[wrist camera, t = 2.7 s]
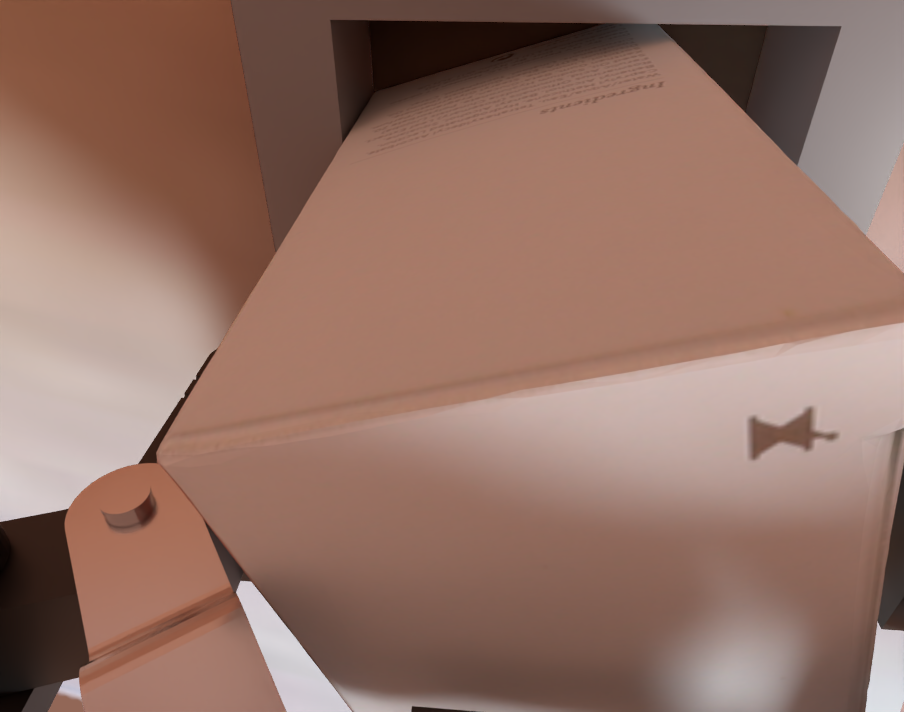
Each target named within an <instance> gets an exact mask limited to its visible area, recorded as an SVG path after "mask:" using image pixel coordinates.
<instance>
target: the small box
mask: <svg viewBox="0 0 904 712" xmlns="http://www.w3.org/2000/svg"><path fill="white" fill-rule="evenodd" d="M156 454H157V463H158V464H159V465H160V466H161V467H162V468H163V469H164V470H165V472H166V473H167V474H168V475H169V476H170V477H171V478H172V480H173V481H174V482H175V483H176V485H177V486H178V487H179V488H180V490H181V491H182V492H183V493H184V495H185V496H186V497H187V498H188V500H189V501H190V502H191V504H192V505H193V506H194V508H195V509H196V510H197V511H198V513H199V514H200V515H201V517H202V518H203V519H204V520H205V522H206V523H207V524H208V526H209V527H210V528H211V529H212V531H213V532H214V533H215V535H216V536H217V537H218V539H219V540H220V541H221V542H222V544H223V545H224V546H225V548H226V549H227V550H228V551H229V553H230V554H231V555H232V557H233V558H234V559H235V561H236V562H237V563H238V564H239V566H240V567H241V568H242V570H243V571H244V572H245V574H246V575H247V576H248V577H249V579H250V580H251V581H252V583H253V584H254V585H255V587H256V588H257V589H258V590H259V592H260V593H261V594H262V595H263V597H264V598H265V599H266V601H267V602H268V603H269V604H270V606H271V607H272V608H273V610H274V611H275V612H276V613H277V615H278V616H279V617H280V619H281V620H282V621H283V622H284V624H285V625H286V626H287V627H288V629H289V630H290V631H291V632H292V634H293V635H294V636H295V637H296V639H297V640H298V641H299V643H300V644H301V646H302V647H303V648H304V650H305V651H306V652H307V653H308V655H309V656H310V657H311V659H312V660H313V661H314V662H315V664H316V665H317V666H318V668H319V669H320V670H321V671H322V673H323V674H324V675H325V677H326V678H327V679H328V680H329V682H330V683H331V684H332V686H333V687H334V688H335V690H336V691H337V692H338V693H339V695H340V696H341V697H342V699H343V700H344V701H345V703H346V704H347V705H348V707H349V708H350V709H351V711H352V712H411V709H412V706H417V707H429V708H441V709H453V710H465V711H477V712H865V708H866V701H867V689H868V685H869V681H870V673H871V665H872V658H873V651H874V644H875V636H876V628H877V621H878V615H879V609H880V603H881V596H882V589H883V582H884V575H885V567H886V562H887V557H888V551H889V543H890V535H891V530H892V525H893V519H894V514H895V508H896V503H897V497H898V492H899V486H900V481H901V476H902V470H903V465H904V273H903V272H902V271H901V270H900V269H899V268H898V267H897V266H896V265H895V264H894V263H893V262H892V261H891V260H890V259H889V258H888V257H887V256H886V255H885V254H884V253H883V252H882V251H881V250H880V249H879V248H878V247H877V246H876V245H875V244H874V243H873V242H872V241H871V240H870V239H869V238H868V237H867V236H866V235H865V234H864V233H863V232H862V231H861V230H860V228H859V227H858V226H857V225H856V224H855V223H854V222H853V221H852V220H851V219H850V218H849V217H848V216H847V215H845V214H844V213H843V212H842V211H841V210H840V209H839V208H838V206H837V205H836V204H835V203H834V202H833V201H832V200H831V199H830V198H829V197H828V196H827V195H826V194H825V193H824V192H823V191H822V190H821V189H820V188H819V187H818V186H817V185H816V184H815V183H814V182H813V181H812V180H811V179H810V178H809V177H808V176H807V175H806V174H805V173H804V172H803V171H802V170H801V169H800V168H799V167H798V166H797V165H796V164H795V163H794V162H793V161H792V160H790V159H789V158H788V157H787V156H786V155H785V154H784V153H783V151H782V150H781V149H780V148H779V147H778V146H777V145H776V144H775V143H774V142H773V141H772V140H771V139H770V138H769V137H768V136H767V135H766V134H765V133H764V132H763V131H762V130H761V129H760V128H759V126H758V125H757V124H756V123H755V122H754V121H753V120H752V119H751V118H750V117H749V116H748V115H747V114H746V113H745V112H744V111H743V110H742V109H741V108H740V107H739V106H738V105H737V104H736V103H735V102H734V101H733V100H732V99H731V98H730V97H729V95H728V94H727V93H726V92H725V91H724V90H723V89H722V88H721V87H720V86H719V85H718V84H717V83H716V82H715V81H714V80H713V79H712V78H710V77H709V76H708V75H707V73H706V72H705V71H704V70H703V69H702V68H701V67H700V66H699V65H698V64H697V63H696V62H695V61H694V60H693V59H692V58H691V57H690V56H689V55H688V54H687V53H686V52H685V51H684V50H683V49H682V48H681V47H680V46H679V45H678V44H677V43H676V42H675V41H674V40H673V39H672V38H671V37H670V36H669V35H668V34H667V33H666V32H665V31H664V30H663V29H662V28H661V27H660V26H659V25H658V24H626V23H606V24H602V25H599V26H595V27H592V28H588V29H585V30H581V31H578V32H574V33H571V34H568V35H564V36H561V37H558V38H554V39H551V40H547V41H544V42H541V43H537V44H534V45H531V46H527V47H524V48H520V49H517V50H514V51H510V52H507V53H503V54H500V55H496V56H493V57H490V58H486V59H483V60H479V61H476V62H472V63H469V64H466V65H462V66H459V67H456V68H452V69H449V70H446V71H442V72H439V73H436V74H432V75H429V76H426V77H422V78H419V79H416V80H412V81H409V82H406V83H403V84H399V85H396V86H393V87H389V88H385V89H381V90H378V91H376V92H375V93H374V94H373V95H372V97H371V98H370V100H369V102H368V104H367V105H366V107H365V108H364V110H363V111H362V113H361V114H360V116H359V118H358V120H357V121H356V123H355V124H354V126H353V128H352V129H351V131H350V132H349V134H348V136H347V137H346V139H345V141H344V142H343V144H342V145H341V147H340V148H339V150H338V151H337V153H336V155H335V157H334V159H333V161H332V162H331V164H330V165H329V167H328V169H327V170H326V172H325V173H324V175H323V177H322V178H321V180H320V182H319V183H318V185H317V186H316V188H315V190H314V191H313V193H312V194H311V196H310V198H309V199H308V201H307V203H306V204H305V206H304V208H303V209H302V211H301V213H300V215H299V216H298V218H297V219H296V221H295V223H294V224H293V226H292V228H291V229H290V231H289V232H288V234H287V236H286V237H285V239H284V241H283V242H282V244H281V245H280V247H279V249H278V250H277V252H276V253H275V255H274V257H273V258H272V260H271V262H270V263H269V265H268V267H267V268H266V270H265V271H264V273H263V275H262V276H261V278H260V280H259V281H258V283H257V284H256V286H255V288H254V289H253V291H252V292H251V294H250V295H249V297H248V299H247V300H246V302H245V304H244V305H243V307H242V309H241V310H240V312H239V313H238V315H237V317H236V318H235V320H234V322H233V323H232V325H231V327H230V329H229V330H228V332H227V334H226V335H225V337H224V339H223V341H222V342H221V344H220V346H219V348H218V349H217V351H216V352H215V354H214V356H213V357H212V359H211V360H210V362H209V364H208V365H207V367H206V368H205V370H204V371H203V373H202V375H201V376H200V378H199V380H198V381H197V383H196V385H195V386H194V388H193V390H192V391H191V393H190V395H189V396H188V398H187V400H186V401H185V403H184V405H183V406H182V408H181V410H180V411H179V413H178V415H177V417H176V418H175V420H174V422H173V423H172V425H171V427H170V429H169V430H168V432H167V434H166V435H165V437H164V439H163V441H162V442H161V444H160V446H159V448H158V450H157V453H156Z"/></svg>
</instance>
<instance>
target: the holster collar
mask: <svg viewBox="0 0 904 712" xmlns="http://www.w3.org/2000/svg"><path fill="white" fill-rule="evenodd" d="M231 5H232V10H233V16H234V22H235V27H236V33H237V38H238V44H239V50H240V55H241V61H242V66H243V72H244V78H245V83H246V89H247V94H248V100H249V106H250V111H251V117H252V122H253V128H254V134H255V139H256V145H257V150H258V156H259V162H260V167H261V173H262V178H263V184H264V190H265V195H266V201H267V206H268V212H269V218H270V223H271V229H272V234H273V240H274V246H275V251H276V252H277V250H278V249H279V247H280V245H281V244H282V242H283V241H284V239H285V237H286V236H287V234H288V232H289V231H290V229H291V228H292V226H293V224H294V223H295V221H296V219H297V218H298V216H299V215H300V213H301V211H302V209H303V208H304V206H305V204H306V203H307V201H308V199H309V198H310V196H311V194H312V193H313V191H314V190H315V188H316V186H317V185H318V183H319V182H320V180H321V178H322V177H323V175H324V173H325V172H326V170H327V169H328V167H329V165H330V164H331V162H332V161H333V159H334V157H335V155H336V153H337V151H338V150H339V148H340V147H341V145H342V144H343V142H344V141H345V139H346V137H347V136H348V134H349V132H350V131H351V129H352V128H353V126H354V124H355V123H356V121H357V120H358V118H359V116H360V114H361V113H362V111H363V110H364V108H365V107H366V105H367V104H368V102H369V100H370V98H371V97H372V95H373V94H374V87H373V72H372V58H371V43H370V29H369V20H389V21H468V22H547V23H626V24H704V25H768V27H767V30H766V34H765V38H764V42H763V46H762V50H761V54H760V58H759V62H758V65H757V69H756V73H755V77H754V81H753V85H752V89H751V93H750V96H749V100H748V104H747V108H746V112H745V113H746V114H747V115H748V116H749V117H750V118H751V119H752V120H753V121H754V122H755V123H756V124H757V125H758V126H759V128H760V129H761V130H762V131H763V132H764V133H765V134H766V135H767V136H768V137H769V138H770V139H771V140H772V141H773V142H774V143H775V144H776V145H777V146H778V147H779V148H780V149H781V150H782V151H783V153H784V154H785V155H786V156H787V157H788V158H789V159H790V160H792V161H793V162H794V163H795V164H796V165H797V166H798V167H799V168H800V169H801V170H802V171H803V172H804V173H805V174H806V175H807V176H808V177H809V178H810V179H811V180H812V181H813V182H814V183H815V184H816V185H817V186H818V187H819V188H820V189H821V190H822V191H823V192H824V193H825V194H826V195H827V196H828V197H829V198H830V199H831V200H832V201H833V202H834V203H835V204H836V205H837V206H838V208H839V209H840V210H841V211H842V212H843V213H844V214H845V215H847V216H848V217H849V218H850V219H851V220H852V221H853V222H854V223H855V224H856V225H857V226H858V227H859V228H860V230H861V231H862V232H863V233H864V234H865V235H866V234H867V232H868V229H869V227H870V224H871V222H872V219H873V217H874V214H875V212H876V209H877V207H878V205H879V202H880V200H881V197H882V195H883V192H884V190H885V187H886V185H887V183H888V180H889V178H890V175H891V173H892V170H893V168H894V165H895V163H896V161H897V158H898V156H899V153H900V151H901V148H902V146H903V143H904V0H231Z"/></svg>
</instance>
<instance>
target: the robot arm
mask: <svg viewBox="0 0 904 712" xmlns="http://www.w3.org/2000/svg"><path fill="white" fill-rule="evenodd" d="M216 351H217V349H216V350H215V351H213V352H212V353H211V354H210V355H209V357H208V358H207V360H206V361H205V363H204V364H203V366H202V367H201V369H200V370H199V372H198V373H197V375H196V380H193V381H192V383H191V384H190V386H189V387H188V389H187V390H186V392H185V397H184V398H181V399H180V401H179V402H178V404H177V406H176V407H175V409H174V410H173V412H172V413H171V415H170V416H169V418H168V419H167V421H166V422H165V424H164V425H163V427H162V428H161V430H160V431H159V433H158V435H157V436H156V438H155V439H154V441H153V442H152V444H151V445H150V447H149V448H148V450H147V451H146V453H145V454H144V456H143V457H142V459H141V461H140V462H139V464H136V465H131V466H127V467H123V468H120V469H117V470H115V471H113V472H110V473H108V474H106V475H104V476H102V477H101V478H99V479H97V480H96V481H94V482H93V483H91V484H90V485H89V486H88V487H86V488H85V489H84V490H83V491H82V492H81V493H80V494H79V495H78V496H77V497H76V498H75V500H74V501H73V503H72V504H71V506H70V507H69V509H65V510H61V511H56V512H51V513H46V514H40V515H35V516H30V517H24V518H19V519H14V520H9V521H3V522H0V712H48V710H49V708H50V706H51V704H52V702H53V700H54V698H55V696H56V694H57V692H58V690H59V688H60V686H61V684H62V682H63V681H66V680H70V679H74V678H78V677H79V683H80V691H81V697H82V703H83V709H84V712H286V709H285V707H284V705H283V702H282V700H281V698H280V695H279V693H278V690H277V688H276V686H275V683H274V681H273V678H272V676H271V674H270V671H269V669H268V666H267V664H266V662H265V659H264V657H263V655H262V652H261V650H260V647H259V645H258V643H257V640H256V638H255V635H254V633H253V631H252V628H251V626H250V624H249V621H248V619H247V616H246V614H245V612H244V609H243V607H242V605H241V602H240V600H239V598H238V596H237V594H236V591H237V588H238V585H239V583H240V581H251V580H250V579H249V577H248V576H247V575H246V574H245V572H244V571H243V570H242V568H241V567H240V566H239V564H238V563H237V562H236V561H235V559H234V558H233V557H232V555H231V554H230V553H229V551H228V550H227V549H226V548H225V546H224V545H223V544H222V542H221V541H220V540H219V539H218V537H217V536H216V535H215V533H214V532H213V531H212V529H211V528H210V527H209V526H208V524H207V523H206V522H205V520H204V519H203V518H202V517H201V515H200V514H199V513H198V511H197V510H196V509H195V508H194V506H193V505H192V504H191V502H190V501H189V500H188V498H187V497H186V496H185V495H184V493H183V492H182V491H181V490H180V488H179V487H178V486H177V485H176V483H175V482H174V481H173V480H172V478H171V477H170V476H169V475H168V474H167V473H166V472H165V470H164V469H163V468H162V467H161V466H160V465H159V464H158V463H157V454H156V453H157V450H158V448H159V446H160V444H161V442H162V441H163V439H164V437H165V435H166V434H167V432H168V430H169V429H170V427H171V425H172V423H173V422H174V420H175V418H176V417H177V415H178V413H179V411H180V410H181V408H182V406H183V405H184V403H185V401H186V400H187V398H188V396H189V395H190V393H191V391H192V390H193V388H194V386H195V385H196V383H197V381H198V380H199V378H200V376H201V375H202V373H203V371H204V370H205V368H206V367H207V365H208V364H209V362H210V360H211V359H212V357H213V356H214V354H215V352H216ZM878 623H879V625H880V627H881V629H888V630H902V631H904V465H903V470H902V476H901V481H900V486H899V492H898V497H897V503H896V508H895V514H894V519H893V525H892V530H891V535H890V543H889V551H888V557H887V562H886V567H885V575H884V582H883V589H882V596H881V603H880V609H879V615H878ZM411 712H477V711H465V710H453V709H441V708H429V707H417V706H412V709H411ZM901 712H904V702H903V705H902V709H901Z"/></svg>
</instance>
